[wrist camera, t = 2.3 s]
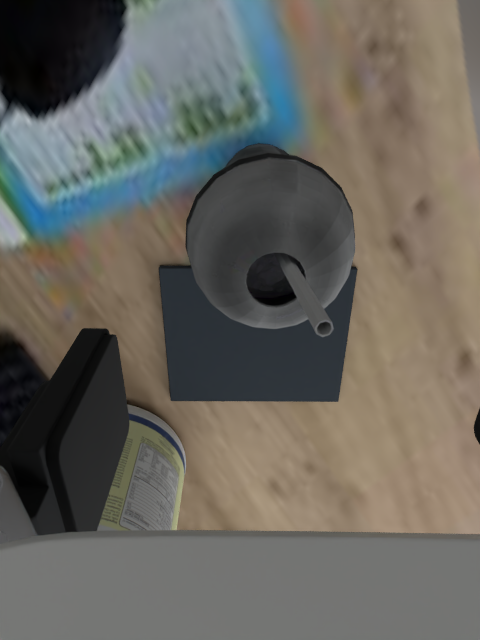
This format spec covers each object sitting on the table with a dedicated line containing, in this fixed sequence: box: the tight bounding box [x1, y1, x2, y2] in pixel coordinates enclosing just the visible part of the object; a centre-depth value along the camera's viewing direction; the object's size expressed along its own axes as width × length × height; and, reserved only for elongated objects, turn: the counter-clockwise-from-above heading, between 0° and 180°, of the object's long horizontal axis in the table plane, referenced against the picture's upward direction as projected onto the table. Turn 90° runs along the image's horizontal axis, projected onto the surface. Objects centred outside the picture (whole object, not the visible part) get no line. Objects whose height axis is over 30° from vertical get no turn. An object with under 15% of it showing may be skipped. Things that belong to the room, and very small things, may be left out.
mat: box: [159, 266, 357, 402], centre depth 35 cm, size 14×12×1 cm
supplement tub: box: [97, 404, 186, 531], centre depth 34 cm, size 12×12×17 cm
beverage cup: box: [186, 144, 355, 337], centre depth 21 cm, size 7×7×20 cm
